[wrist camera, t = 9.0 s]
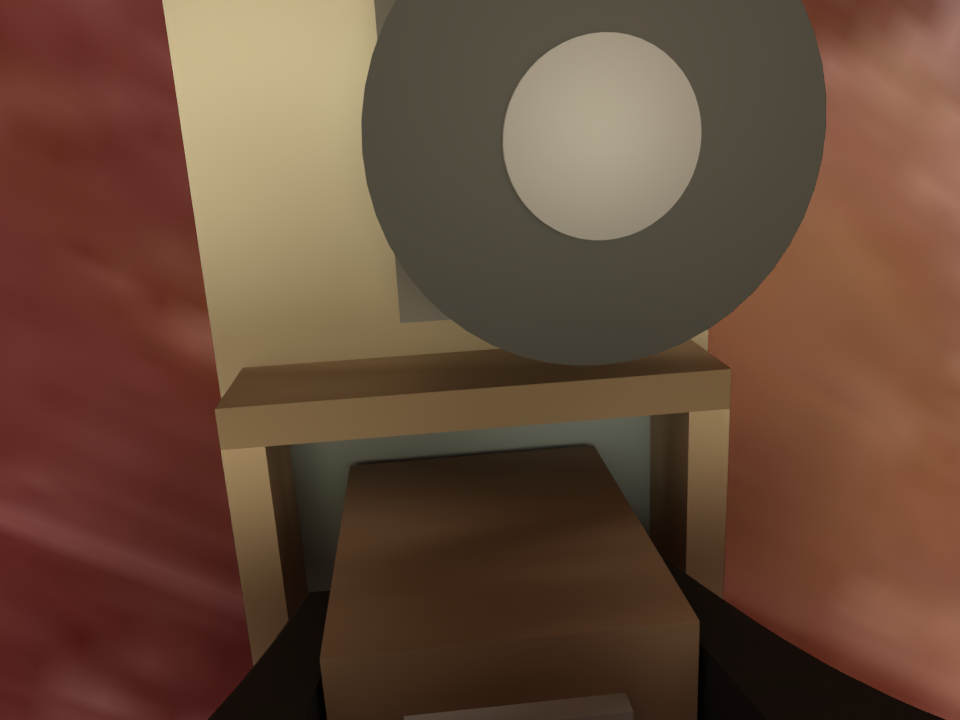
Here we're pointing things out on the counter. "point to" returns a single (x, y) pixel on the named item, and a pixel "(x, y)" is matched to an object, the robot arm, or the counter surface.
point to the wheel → (592, 163)
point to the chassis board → (380, 322)
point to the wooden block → (503, 596)
